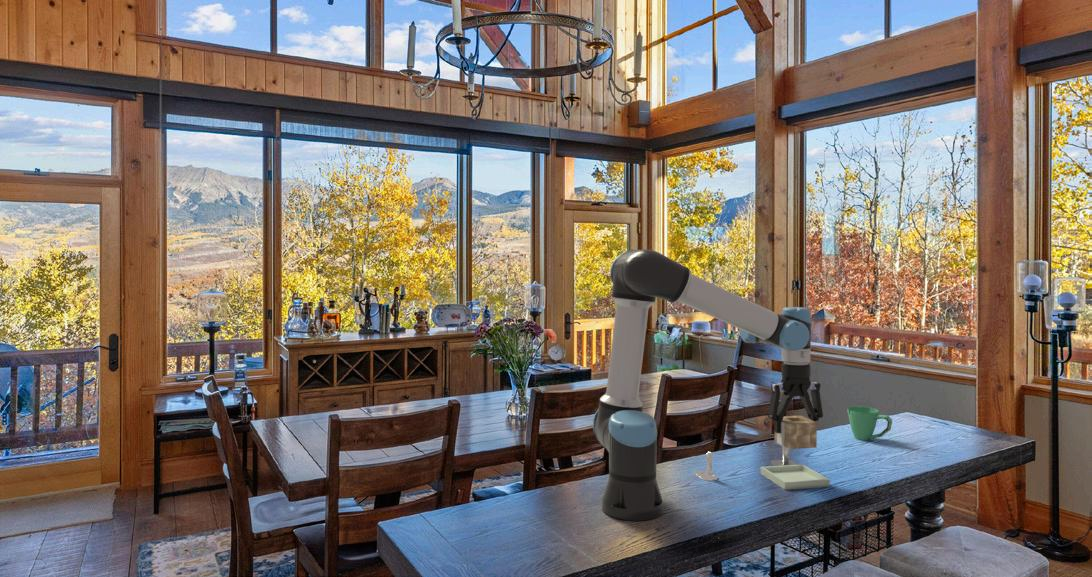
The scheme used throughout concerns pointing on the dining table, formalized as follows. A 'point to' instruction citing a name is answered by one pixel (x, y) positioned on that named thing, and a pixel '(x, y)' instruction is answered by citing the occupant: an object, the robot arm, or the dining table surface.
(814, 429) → the bored block
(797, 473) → the tray
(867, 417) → the mug
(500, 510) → the dining table surface
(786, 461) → the gauge post
